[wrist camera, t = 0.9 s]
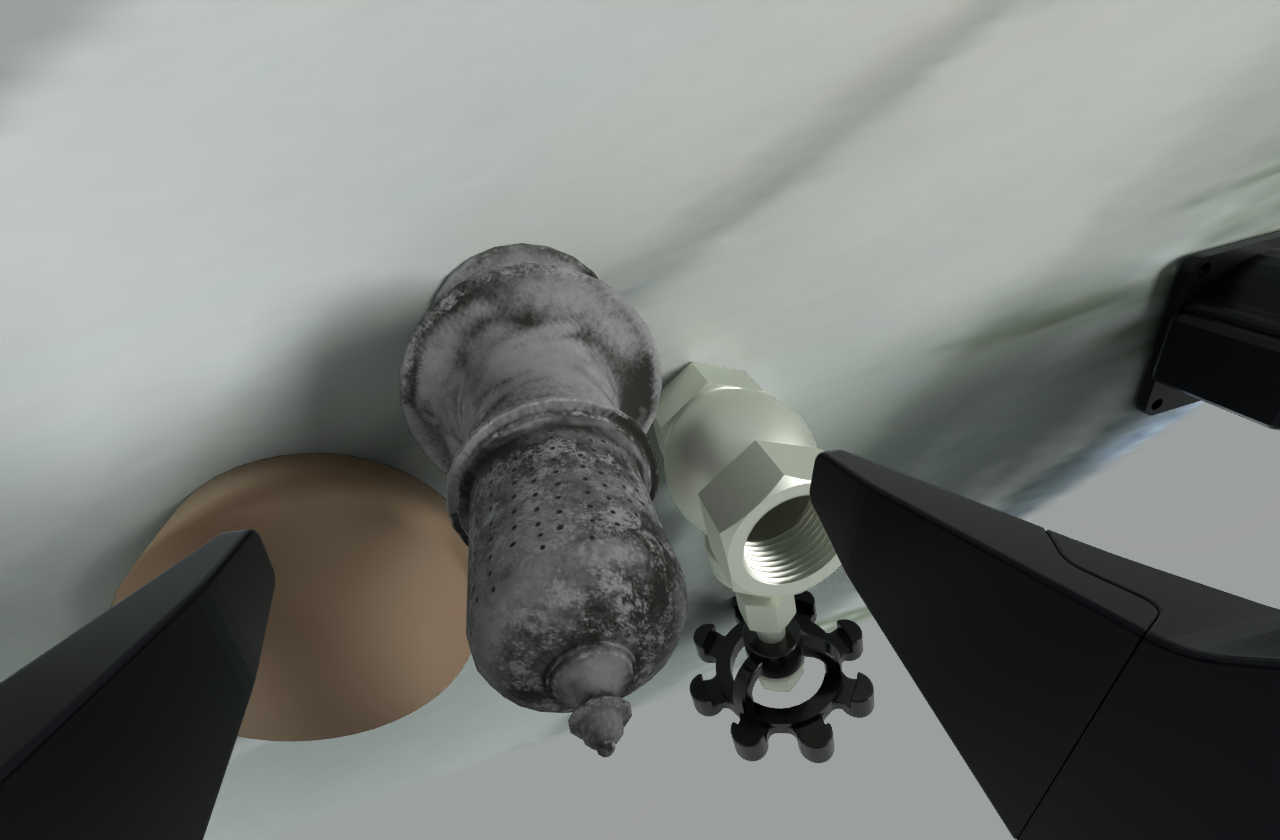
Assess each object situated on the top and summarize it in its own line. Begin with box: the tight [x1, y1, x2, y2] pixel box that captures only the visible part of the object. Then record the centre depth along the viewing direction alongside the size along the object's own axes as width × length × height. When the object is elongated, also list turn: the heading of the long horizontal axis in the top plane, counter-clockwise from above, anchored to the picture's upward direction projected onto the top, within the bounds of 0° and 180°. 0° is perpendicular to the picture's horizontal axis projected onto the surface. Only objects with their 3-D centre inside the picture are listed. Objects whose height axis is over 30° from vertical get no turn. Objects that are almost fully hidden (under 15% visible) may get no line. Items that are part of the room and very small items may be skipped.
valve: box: [653, 362, 874, 763], centre depth 18 cm, size 7×7×12 cm
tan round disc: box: [111, 454, 471, 741], centre depth 17 cm, size 9×9×2 cm
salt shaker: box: [399, 243, 688, 757], centre depth 11 cm, size 6×6×12 cm
